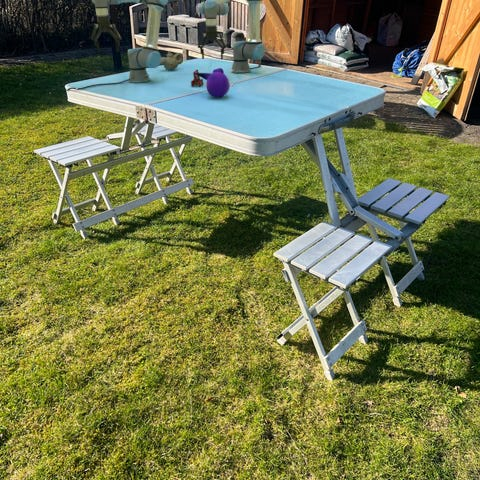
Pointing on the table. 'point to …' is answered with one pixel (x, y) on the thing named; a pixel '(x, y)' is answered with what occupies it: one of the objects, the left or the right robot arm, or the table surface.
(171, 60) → the teapot
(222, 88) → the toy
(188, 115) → the table surface
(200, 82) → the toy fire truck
